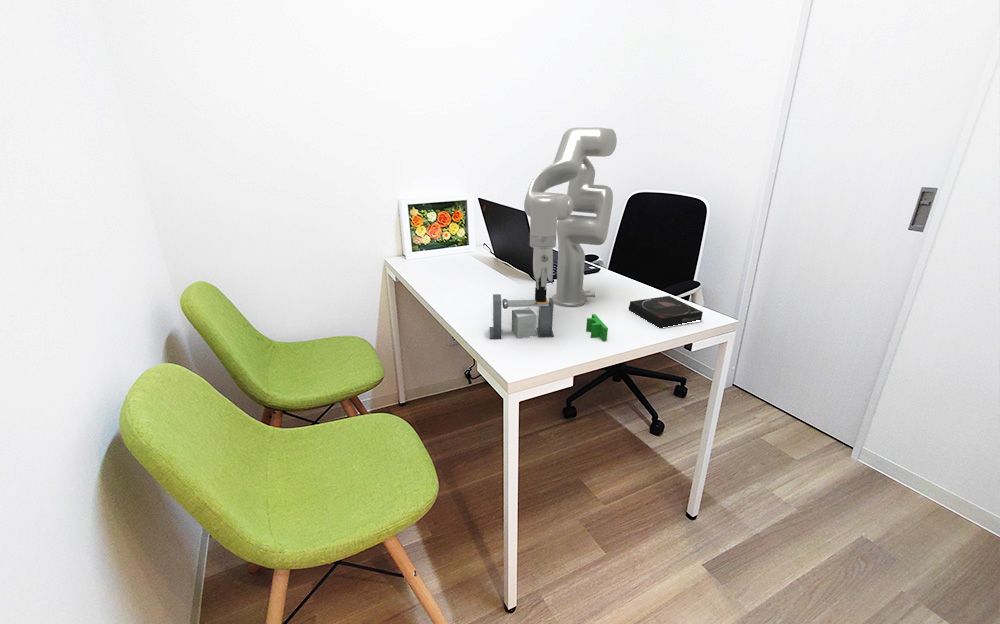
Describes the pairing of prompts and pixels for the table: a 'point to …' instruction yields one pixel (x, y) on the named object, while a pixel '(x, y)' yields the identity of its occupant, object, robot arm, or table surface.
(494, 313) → the hinge post
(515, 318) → the product box
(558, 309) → the table surface
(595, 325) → the pipe clamp
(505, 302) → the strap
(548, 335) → the lug block
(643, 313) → the portable cd player
